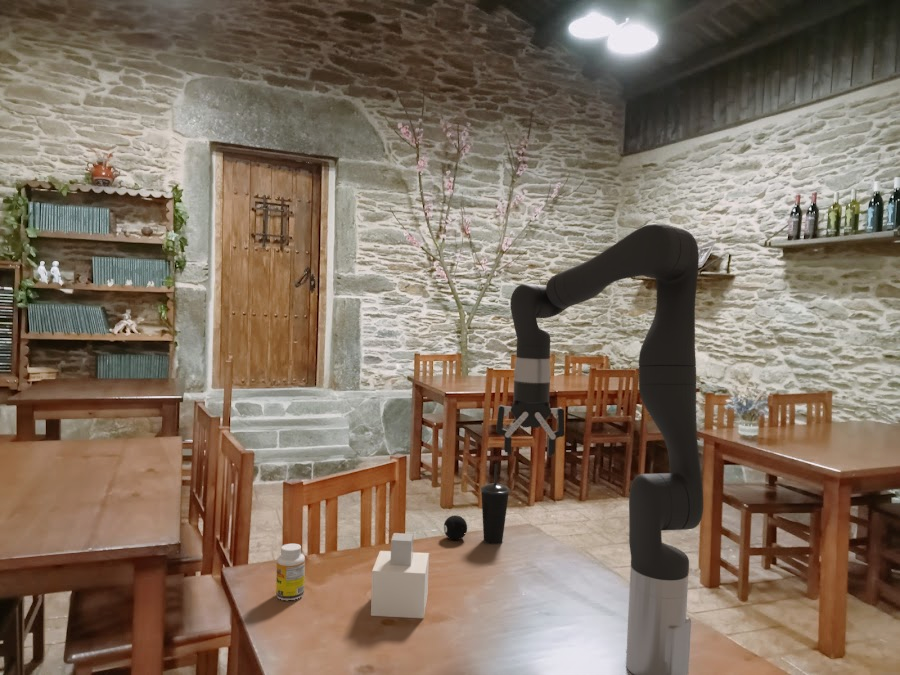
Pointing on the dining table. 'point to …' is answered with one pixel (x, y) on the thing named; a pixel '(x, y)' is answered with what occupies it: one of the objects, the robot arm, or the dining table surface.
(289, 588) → the supplement bottle
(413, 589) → the white block with stub
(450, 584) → the dining table surface
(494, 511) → the drinking cup
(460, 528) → the billiard ball
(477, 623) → the dining table surface
